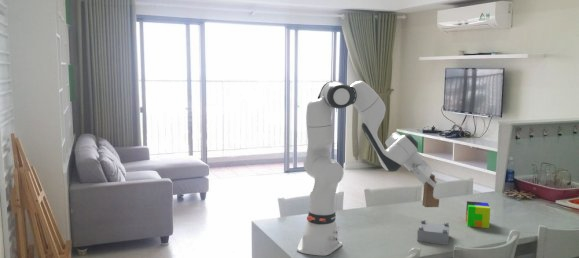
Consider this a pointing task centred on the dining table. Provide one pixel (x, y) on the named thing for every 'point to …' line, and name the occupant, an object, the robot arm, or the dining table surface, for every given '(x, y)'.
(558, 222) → the dining table surface
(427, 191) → the wooden block
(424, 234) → the base brick
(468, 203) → the puzzle toy
